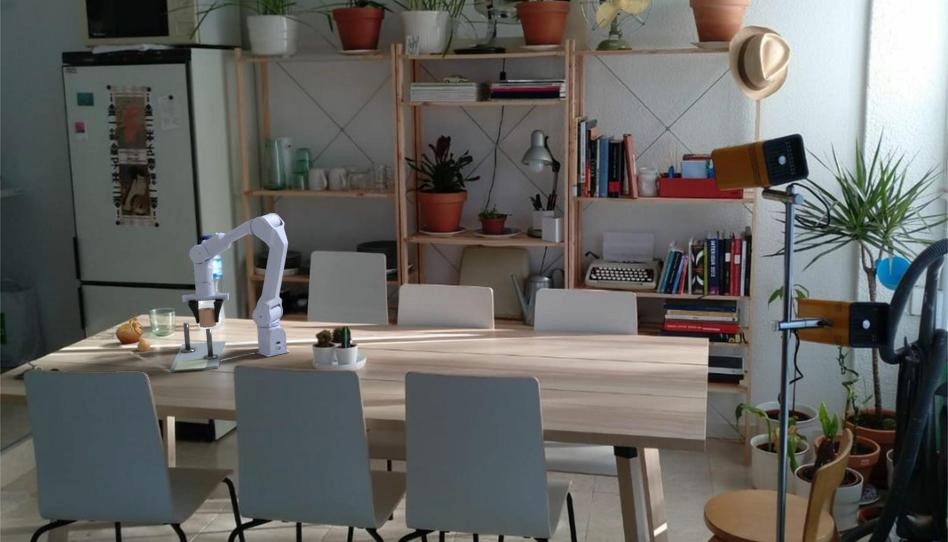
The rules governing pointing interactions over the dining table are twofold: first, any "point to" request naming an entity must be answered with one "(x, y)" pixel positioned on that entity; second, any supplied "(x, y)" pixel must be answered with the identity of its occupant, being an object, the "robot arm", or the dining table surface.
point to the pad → (191, 364)
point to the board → (200, 355)
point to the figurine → (142, 344)
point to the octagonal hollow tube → (207, 317)
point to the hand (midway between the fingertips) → (207, 322)
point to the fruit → (127, 334)
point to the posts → (189, 349)
